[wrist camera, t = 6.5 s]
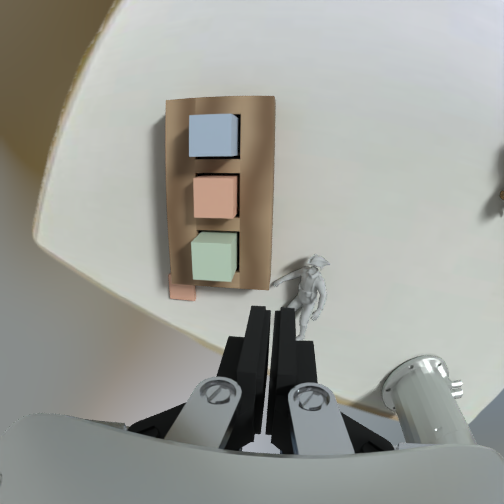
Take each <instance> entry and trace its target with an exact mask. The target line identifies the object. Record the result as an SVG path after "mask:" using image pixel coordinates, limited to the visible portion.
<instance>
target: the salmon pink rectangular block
mask: <svg viewBox="0 0 504 504" xmlns="http://www.w3.org/2000/svg"><path fill="white" fill-rule="evenodd" d="M193 190H194V218H227V219H233V218H234V217H235V215H236V214H237V213H238V211H239V210H240V174H205V175H202V176H199V177H196V178H193Z"/></svg>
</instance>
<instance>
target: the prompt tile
mask: <svg viewBox="0 0 504 504" xmlns="http://www.w3.org/2000/svg"><path fill="white" fill-rule="evenodd" d="M168 279H169V289H170V299H180V300H191V301H195V300H196V292H195V285H183V284H172V278H171V273H170V274H169V275H168Z"/></svg>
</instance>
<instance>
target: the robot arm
mask: <svg viewBox="0 0 504 504" xmlns="http://www.w3.org/2000/svg"><path fill="white" fill-rule="evenodd" d="M270 317H271V310H266V306H251V310H250V315H249V320H248V324H247V329H246V333H245V337H233V336H229V337H228V340H227V343H226V347H225V350H224V353H223V357H222V360H221V364H220V367H219V370H218V373H217V376H216V377H211V378H208V379H205V380H203V381H202V382H200V383H199V384H198V385H197V386H196V388H195V389H194V391H193V393H192V394H191V396H190V398H189V399H188V401H187V402H186V403H183V404H181V405H179V406H176V407H174V408H171V409H169V410H167V411H164V412H162V413H160V414H157V415H154V416H151V417H149V418H146V419H144V420H141V421H138V422H136V423H134V424H133V425H131V426H130V427H129V426H126V425H125V423H117V422H105V421H96V420H88V419H81V418H77V417H72V416H68V415H60V414H47V413H37V414H29V415H27V416H23V417H22V418H20V419H18V420H17V421H16V422H14V423H13V424H12V425H11V426H10V427H9V428H8V429H7V430H6V431H5V432H4V433H3V434H2V435H1V436H0V504H504V458H503V457H502V456H501V455H500V454H499V453H498V452H497V451H495V450H493V449H491V448H488V447H484V446H480V445H477V443H476V441H475V439H474V437H473V435H472V433H471V431H470V428H469V426H468V424H467V422H466V420H465V418H464V416H463V414H462V412H461V410H460V408H459V406H458V404H457V402H456V400H455V399H459V398H461V397H462V394H463V391H462V389H461V388H459V387H461V386H462V381H461V380H457V381H451V380H450V379H449V378H448V377H449V370H448V367H447V365H446V363H445V362H444V361H443V360H442V359H441V358H439V357H436V356H431V355H428V356H421V357H417V358H414V359H412V360H409V361H408V362H406V363H404V364H402V365H401V366H399V367H398V368H397V369H396V370H395V371H393V372H392V374H391V375H390V376H389V377H388V378H387V380H386V381H385V383H384V386H383V388H382V398H383V402H384V404H385V405H386V406H387V407H388V408H389V409H391V410H393V411H396V412H397V415H398V418H399V422H400V425H401V428H402V431H403V434H404V438H405V441H406V443H399V444H398V445H397V446H396V445H395V446H394V445H392V444H391V443H390V442H389V441H387V440H386V439H385V438H383V437H381V436H379V435H378V434H376V433H374V432H373V431H371V430H369V429H368V428H366V427H364V426H363V425H361V424H359V423H358V422H356V421H355V420H353V419H351V418H350V417H348V416H346V415H345V414H343V413H342V412H340V410H339V407H338V404H337V401H336V399H335V396H334V394H333V392H332V391H331V390H330V389H329V388H328V387H326V386H324V385H322V384H318V382H317V372H316V362H315V353H314V344H313V341H298V340H296V329H295V308H284V307H281V311H275V320H274V332H273V345H272V357H271V368H270V381H269V395H268V409H267V423H266V434H267V435H272V437H271V443H272V444H274V445H275V446H276V447H277V448H278V449H280V454H267V453H254V452H243V451H242V447H243V446H245V445H247V444H248V443H250V442H254V435H255V434H261V426H262V417H263V408H264V398H265V388H266V380H267V369H268V354H269V336H270ZM452 388H458V389H452ZM451 389H452V390H451Z"/></svg>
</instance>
